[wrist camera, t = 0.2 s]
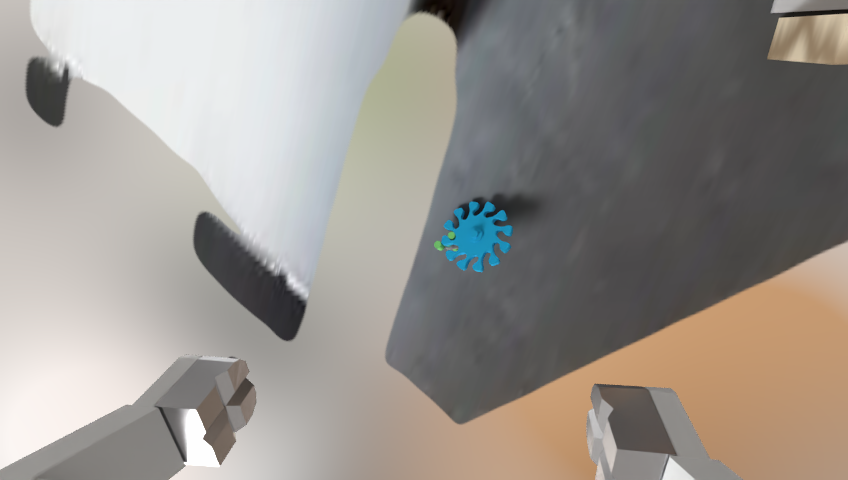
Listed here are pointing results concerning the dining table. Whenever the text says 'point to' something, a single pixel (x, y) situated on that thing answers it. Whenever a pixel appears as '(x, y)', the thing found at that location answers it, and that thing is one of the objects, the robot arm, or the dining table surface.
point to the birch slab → (811, 39)
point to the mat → (807, 5)
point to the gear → (475, 236)
